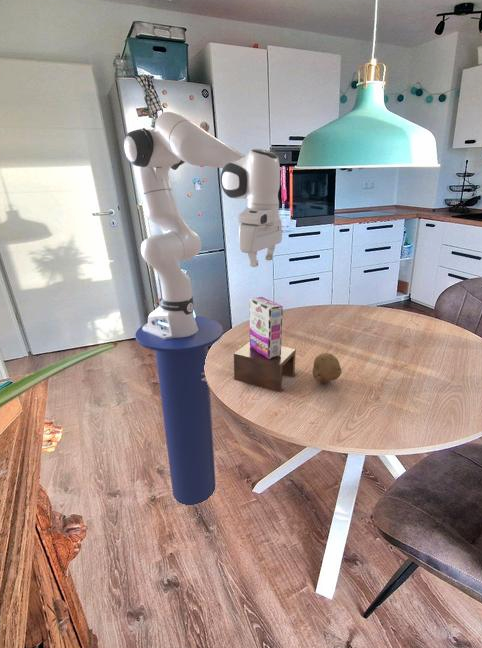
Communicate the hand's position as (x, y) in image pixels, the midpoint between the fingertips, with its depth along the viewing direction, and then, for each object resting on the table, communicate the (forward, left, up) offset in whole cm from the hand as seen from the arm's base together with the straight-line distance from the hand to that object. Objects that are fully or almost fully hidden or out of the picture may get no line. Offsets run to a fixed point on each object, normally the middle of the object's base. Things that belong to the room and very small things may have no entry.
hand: (261, 263), depth 114 cm
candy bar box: (+3, -3, -27) cm, 28 cm away
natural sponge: (+22, +3, -37) cm, 43 cm away
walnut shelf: (+3, -3, -37) cm, 37 cm away
